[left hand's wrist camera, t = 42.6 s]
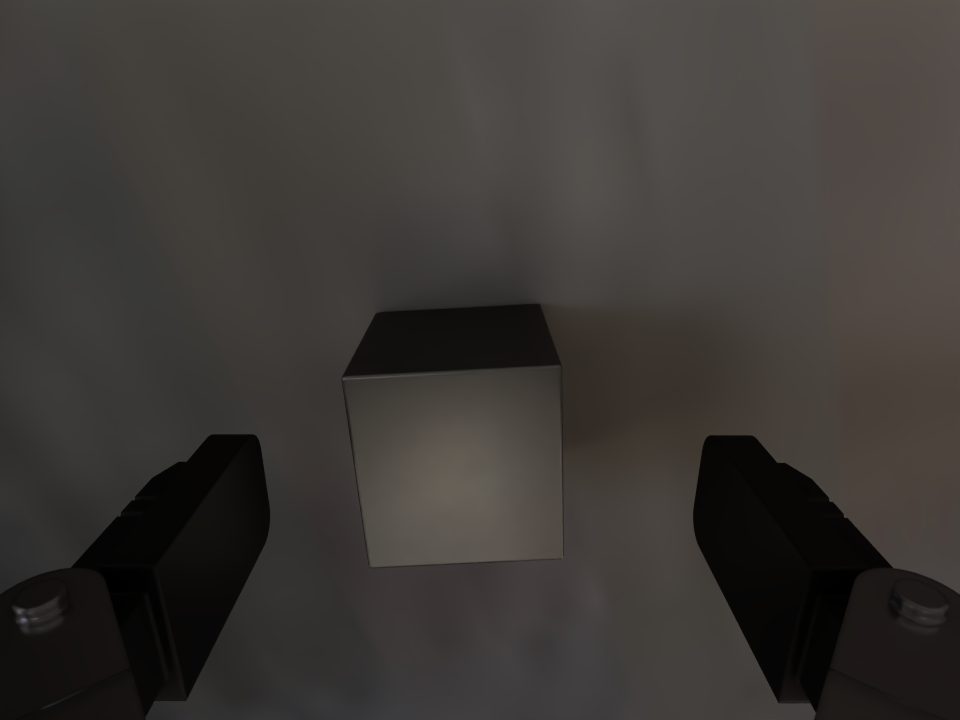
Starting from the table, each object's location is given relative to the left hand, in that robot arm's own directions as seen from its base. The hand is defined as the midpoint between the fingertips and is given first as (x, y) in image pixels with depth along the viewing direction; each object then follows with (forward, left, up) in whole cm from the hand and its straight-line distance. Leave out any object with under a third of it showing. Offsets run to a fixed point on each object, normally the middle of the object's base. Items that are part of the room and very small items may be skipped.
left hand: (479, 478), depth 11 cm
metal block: (+1, 0, -5) cm, 5 cm away
